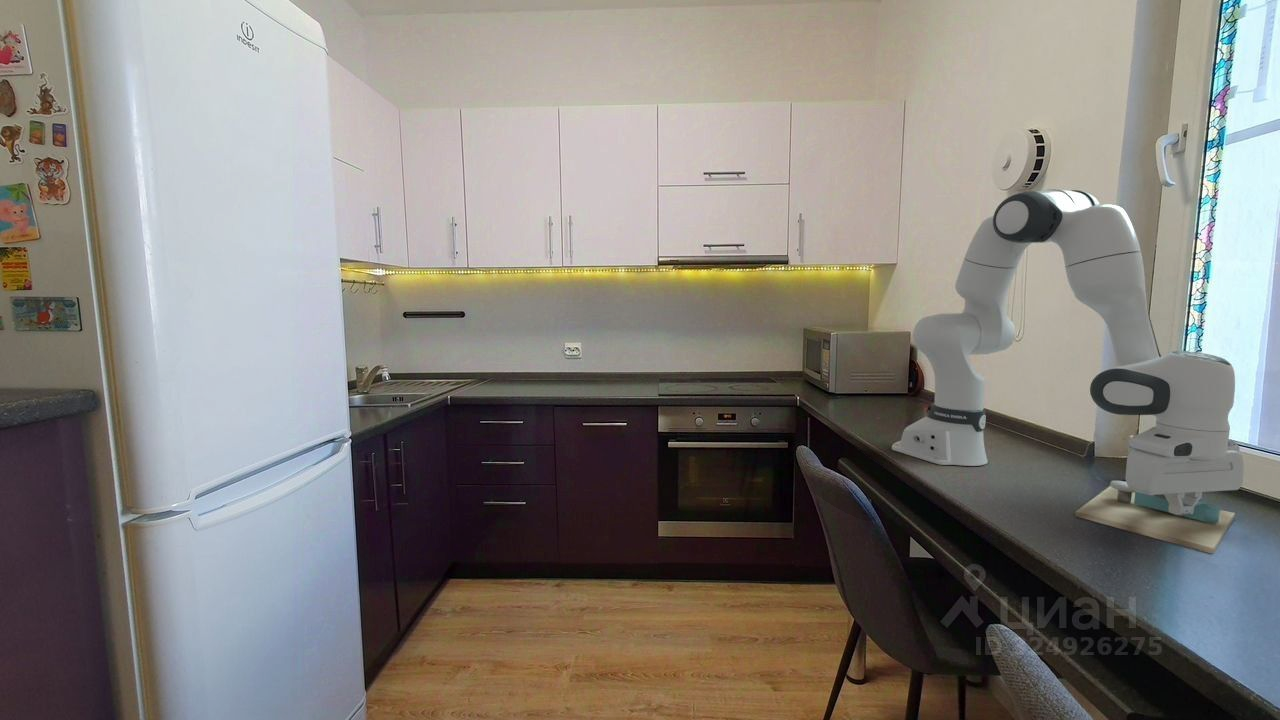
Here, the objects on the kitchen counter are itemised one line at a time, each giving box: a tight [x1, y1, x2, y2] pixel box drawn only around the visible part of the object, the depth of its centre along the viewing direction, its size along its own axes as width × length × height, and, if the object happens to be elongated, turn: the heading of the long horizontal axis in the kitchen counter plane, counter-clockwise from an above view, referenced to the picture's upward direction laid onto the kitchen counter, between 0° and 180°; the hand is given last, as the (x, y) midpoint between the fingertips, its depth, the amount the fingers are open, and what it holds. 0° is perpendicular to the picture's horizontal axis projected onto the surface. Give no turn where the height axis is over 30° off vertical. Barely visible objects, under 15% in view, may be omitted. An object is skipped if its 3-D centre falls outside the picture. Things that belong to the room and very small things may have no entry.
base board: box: [1074, 486, 1235, 555], centre depth 93 cm, size 18×24×4 cm
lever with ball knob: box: [1109, 480, 1221, 523], centre depth 94 cm, size 15×4×3 cm, turn 31°
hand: (1180, 513), depth 89 cm, fingers closed
